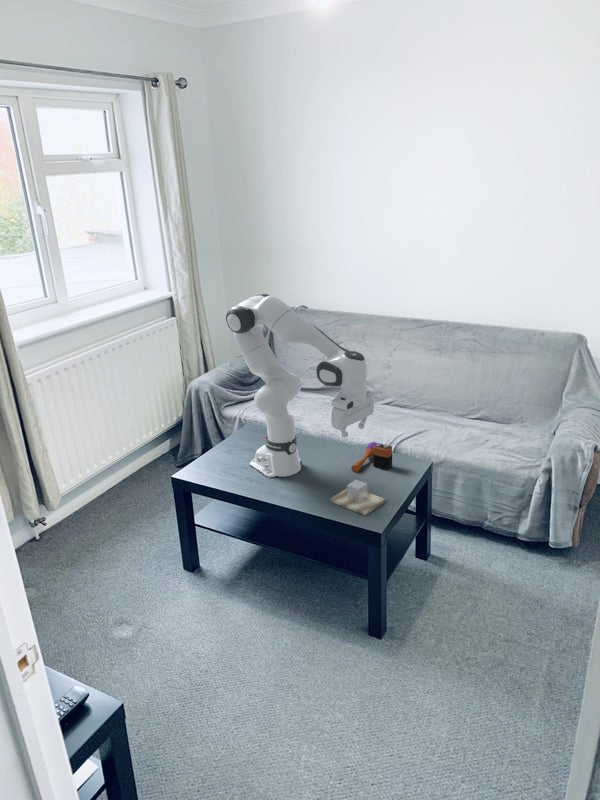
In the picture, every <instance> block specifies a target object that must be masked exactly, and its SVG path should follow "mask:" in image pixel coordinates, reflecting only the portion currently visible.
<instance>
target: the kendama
mask: <svg viewBox="0 0 600 800" xmlns="http://www.w3.org/2000/svg"><path fill="white" fill-rule="evenodd" d="M377 443H378V442H376V441H372V442H370V443H368V444H367V446H366V450H365V454H364V455H365V456H363V457H362V458H361V459H360V460H358V461H356V462H355V463H354V464H353V465H351V468H350V469H351V471H352V472H355V473H358V472H359V471H360V470H361V468H362V467H363V465H364V463H365V462H366V460H367V459H369V458H373V447H374V446H375V445H376V444H377Z"/></svg>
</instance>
